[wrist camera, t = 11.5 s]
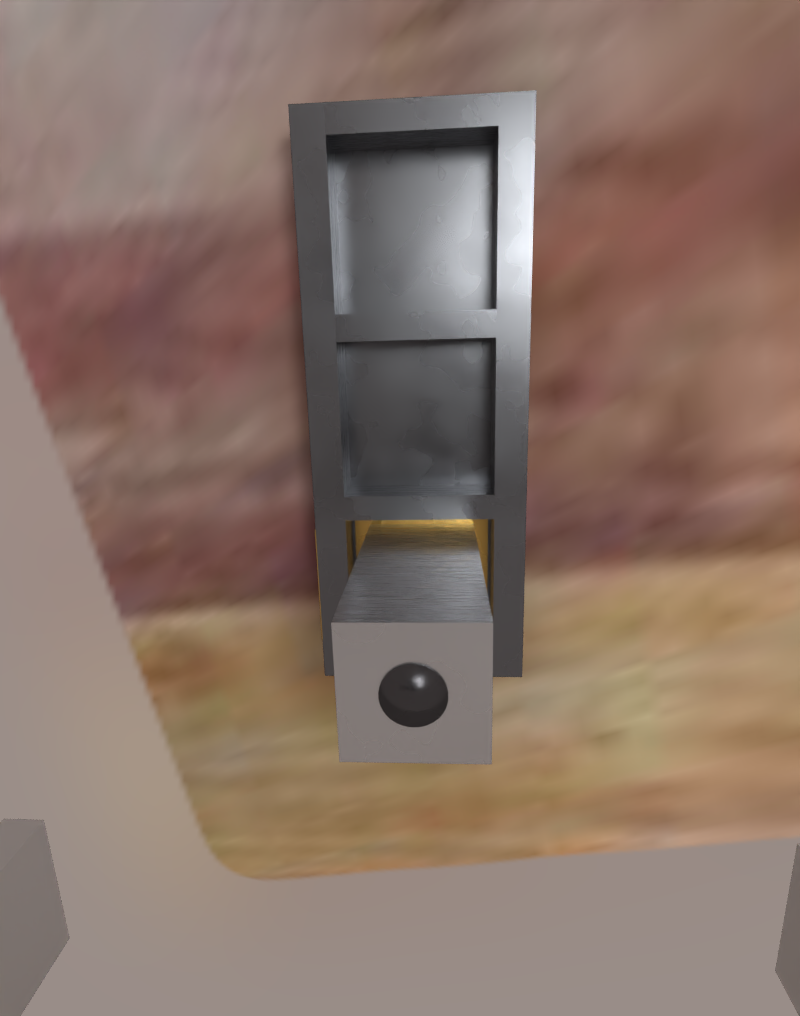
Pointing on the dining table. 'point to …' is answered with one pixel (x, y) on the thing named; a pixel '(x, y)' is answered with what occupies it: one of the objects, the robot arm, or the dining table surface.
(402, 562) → the grey block with knob
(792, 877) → the robot arm
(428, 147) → the grey compartment tray
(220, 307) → the dining table surface
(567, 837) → the dining table surface
